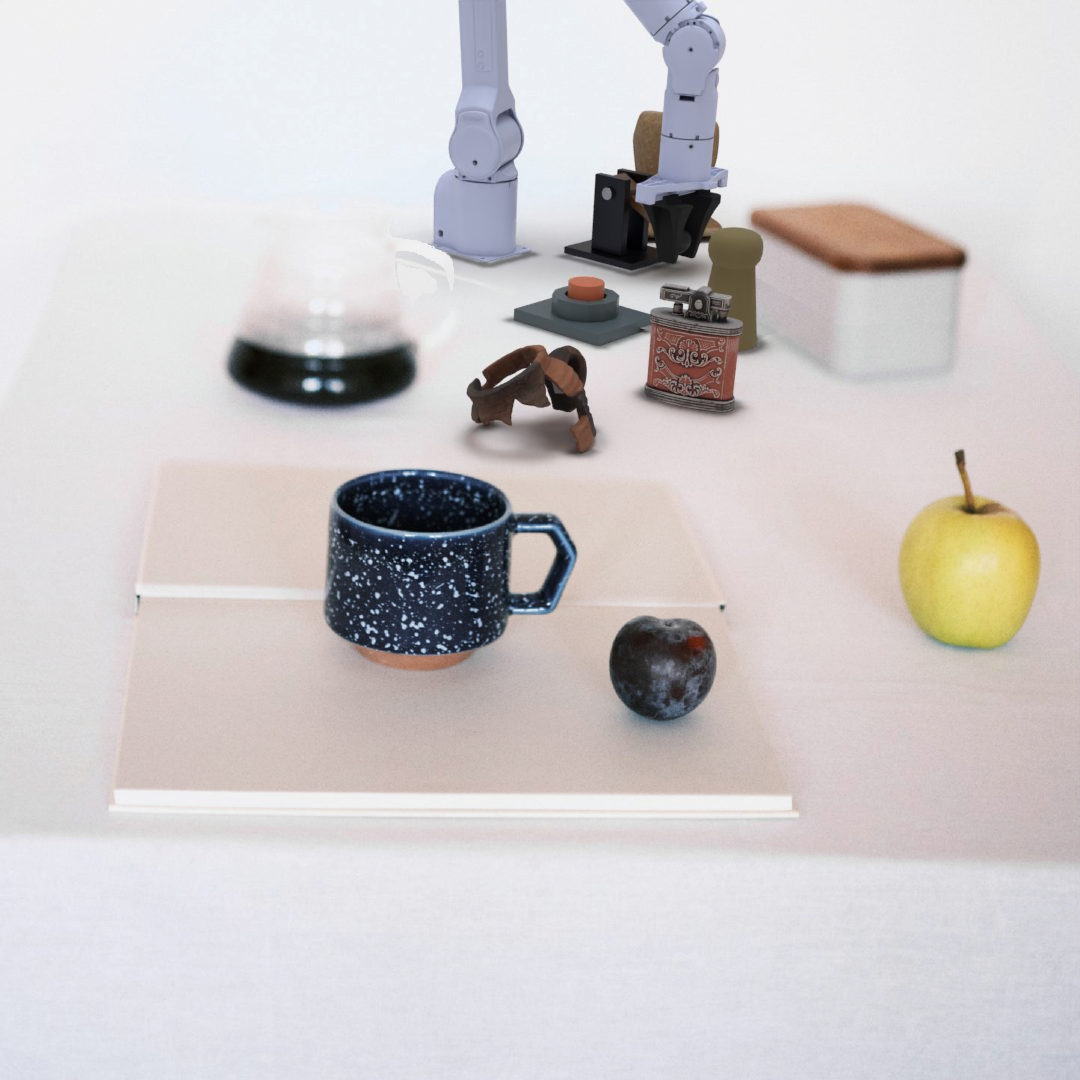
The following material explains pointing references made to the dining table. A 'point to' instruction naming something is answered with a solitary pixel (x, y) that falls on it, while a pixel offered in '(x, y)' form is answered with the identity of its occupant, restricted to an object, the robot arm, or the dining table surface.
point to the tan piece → (649, 151)
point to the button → (586, 288)
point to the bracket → (617, 225)
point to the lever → (639, 207)
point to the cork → (737, 276)
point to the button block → (584, 317)
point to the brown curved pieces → (535, 387)
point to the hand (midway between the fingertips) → (676, 259)
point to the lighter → (693, 349)
